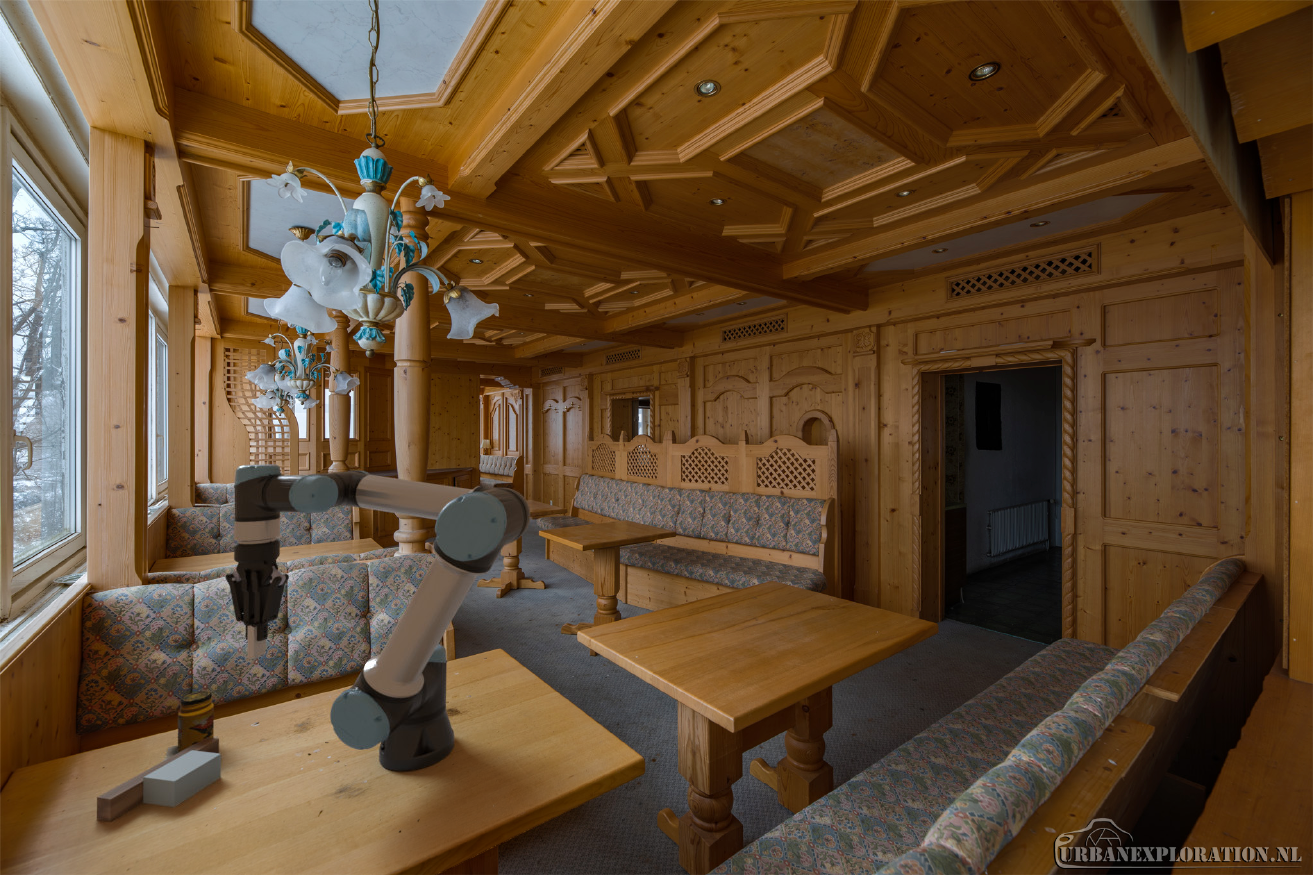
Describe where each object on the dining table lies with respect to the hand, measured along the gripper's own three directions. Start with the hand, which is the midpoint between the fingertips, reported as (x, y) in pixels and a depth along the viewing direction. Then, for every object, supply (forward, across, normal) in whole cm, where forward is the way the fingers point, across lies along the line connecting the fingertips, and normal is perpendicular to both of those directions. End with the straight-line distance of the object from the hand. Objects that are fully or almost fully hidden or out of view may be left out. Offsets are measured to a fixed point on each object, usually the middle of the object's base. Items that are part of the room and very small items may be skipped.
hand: (256, 655), depth 110 cm
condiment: (+25, +22, -5) cm, 33 cm away
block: (+25, +10, +6) cm, 27 cm away
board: (+24, +15, +6) cm, 29 cm away
